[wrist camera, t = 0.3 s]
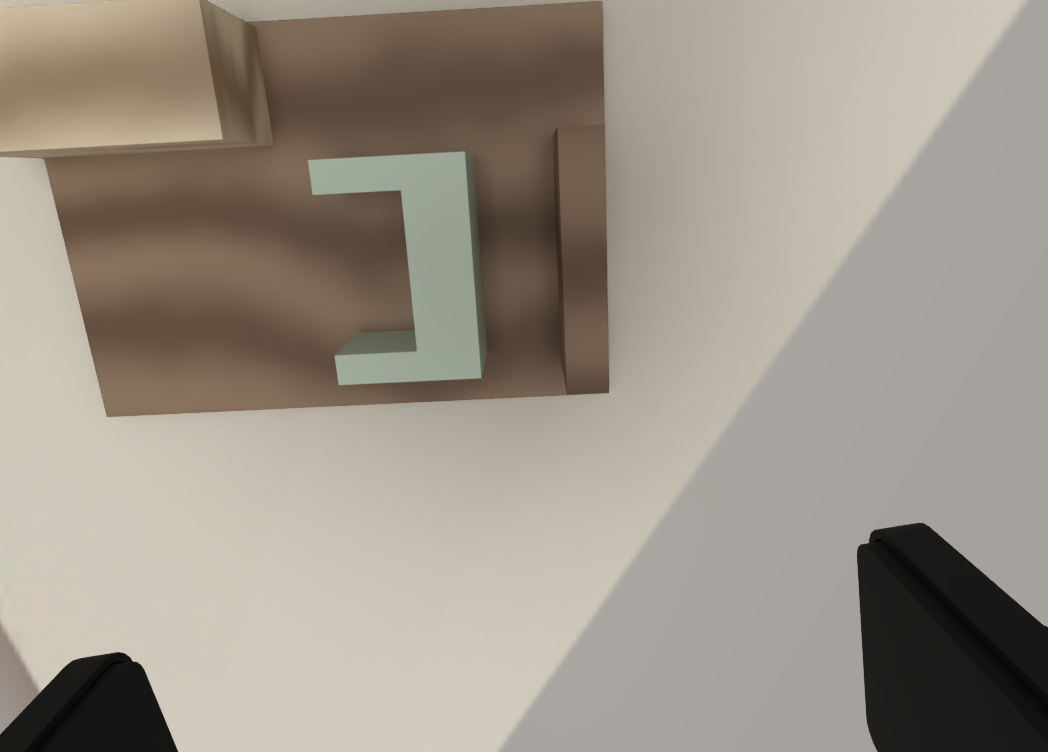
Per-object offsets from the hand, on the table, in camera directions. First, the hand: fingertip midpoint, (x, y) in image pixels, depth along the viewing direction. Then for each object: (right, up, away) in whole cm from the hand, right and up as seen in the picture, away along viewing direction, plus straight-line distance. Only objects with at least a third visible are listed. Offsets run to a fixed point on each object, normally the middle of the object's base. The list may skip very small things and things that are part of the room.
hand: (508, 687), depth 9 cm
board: (-10, +12, +28) cm, 32 cm away
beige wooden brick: (-19, +18, +25) cm, 36 cm away
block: (-6, +10, +27) cm, 30 cm away
